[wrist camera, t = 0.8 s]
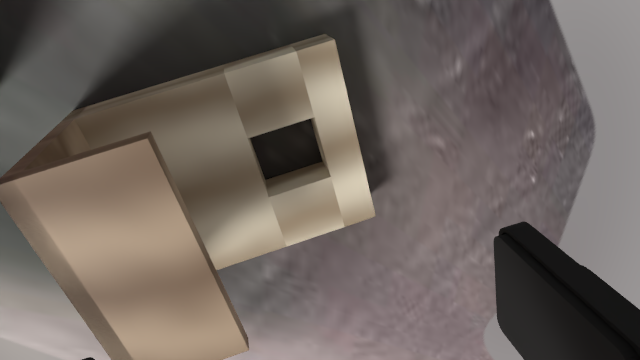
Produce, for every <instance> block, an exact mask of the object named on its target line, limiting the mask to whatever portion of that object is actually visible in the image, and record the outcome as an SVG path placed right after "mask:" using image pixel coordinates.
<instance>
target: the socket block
mask: <svg viewBox="0 0 640 360" xmlns="http://www.w3.org/2000/svg"><path fill="white" fill-rule="evenodd" d="M307 119H311V122H312V126H313V129H314V133H315V136H316V140H317V143H318V147H319V151H320V154H321V158H322V162H319V163H316V164H313V165H310V166H307V167H304V168H301V169H298V170H295V171H291V172H288V173H285V174H282V175H279V176H276V177H273V178H270V179H267V180H265V178H264V175H263V173H262V170H261V167H260V164H259V161H258V159H257V156H256V153H255V150H254V147H253V145H252V142H251V139H250V138H251V137H254V136H257V135H260V134H263V133H266V132H270V131H273V130H276V129H279V128H282V127H285V126H289V125H292V124H295V123H298V122H301V121H304V120H307ZM0 202H1V204H2V205H3V206H4V208H5V209H6V211H7V212H8V213H9V215H10V216H11V218H12V219H13V221H14V222H15V223H16V225H17V226H18V228H19V229H20V230H21V232H22V233H23V235H24V236H25V238H26V239H27V240H28V242H29V243H30V245H31V246H32V248H33V249H34V250H35V252H36V253H37V255H38V256H39V257H40V259H41V260H42V262H43V263H44V265H45V266H46V267H47V269H48V270H49V272H50V273H51V274H52V276H53V277H54V279H55V280H56V282H57V283H58V284H59V286H60V287H61V289H62V290H63V291H64V293H65V294H66V296H67V297H68V299H69V300H70V301H71V303H72V304H73V306H74V307H75V309H76V310H77V311H78V313H79V314H80V316H81V317H82V318H83V320H84V321H85V323H86V324H87V326H88V327H89V328H90V330H91V331H92V333H93V334H94V335H95V337H96V338H97V340H98V341H99V343H100V344H101V345H102V347H103V348H104V350H105V351H106V353H107V354H108V355H109V357H110V358H111V360H223V359H225V358H228V357H231V356H234V355H237V354H240V353H242V352H245V351H248V350H249V344H248V337H247V335H246V332H245V330H244V328H243V326H242V324H241V322H240V320H239V318H238V315H237V313H236V311H235V309H234V307H233V305H232V303H231V301H230V298H229V296H228V294H227V292H226V290H225V288H224V286H223V284H222V281H221V279H220V277H219V275H218V273H217V271H216V270H218V269H221V268H224V267H227V266H230V265H233V264H236V263H239V262H242V261H245V260H248V259H251V258H254V257H257V256H260V255H263V254H266V253H269V252H272V251H275V250H278V249H281V248H283V247H286V246H289V245H292V244H295V243H298V242H301V241H304V240H307V239H310V238H313V237H316V236H319V235H322V234H325V233H328V232H331V231H334V230H337V229H340V228H343V227H346V226H349V225H352V224H355V223H358V222H360V221H363V220H366V219H369V218H372V217H375V211H374V207H373V203H372V198H371V194H370V190H369V186H368V181H367V177H366V173H365V168H364V164H363V160H362V155H361V151H360V147H359V142H358V138H357V134H356V129H355V125H354V121H353V116H352V112H351V108H350V104H349V99H348V95H347V91H346V86H345V82H344V78H343V73H342V69H341V65H340V60H339V56H338V52H337V47H336V43H335V39H333V38H331V37H330V36H328V35H326V34H322V35H319V36H316V37H313V38H309V39H306V40H303V41H299V42H296V43H293V44H290V45H286V46H283V47H280V48H276V49H273V50H270V51H267V52H263V53H260V54H257V55H254V56H250V57H247V58H244V59H240V60H237V61H234V62H231V63H227V64H224V65H221V66H217V67H214V68H211V69H208V70H204V71H201V72H198V73H194V74H191V75H188V76H185V77H181V78H178V79H175V80H172V81H168V82H165V83H162V84H158V85H155V86H152V87H149V88H145V89H142V90H139V91H135V92H132V93H129V94H126V95H122V96H119V97H116V98H113V99H109V100H106V101H103V102H99V103H96V104H93V105H90V106H86V107H83V108H80V109H76V110H73V111H72V112H71V113H70V114H69V115H68V116H67V117H66V118H65V119H63V120H62V121H61V122H60V123H59V124H58V125H57V126H56V127H55V128H54V129H53V130H52V131H51V132H50V133H48V134H47V135H46V136H45V137H44V138H43V139H42V140H41V141H40V142H39V143H38V144H37V145H36V146H34V147H33V148H32V149H31V150H30V151H29V152H28V153H27V154H26V155H25V156H24V157H23V158H22V159H20V160H19V161H18V162H17V163H16V164H15V165H14V166H13V167H12V168H11V169H10V170H9V171H8V172H6V173H5V174H4V175H3V176H2V177H1V178H0Z"/></svg>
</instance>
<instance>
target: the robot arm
mask: <svg viewBox="0 0 640 360" xmlns="http://www.w3.org/2000/svg"><path fill="white" fill-rule="evenodd" d="M494 259H495V281H496V304H497V319H498V323H499V326H500V328H501V330H502V332H503V333H504V334H505V336H506V337H507V338H508V339H509V341H510V342H511V343H512V345H513V346H514V347H515V348H516V350H517V351H518V352H519V354H520V355H521V356H522V357H523V359H524V360H640V310H639V309H638V308H637V307H636V306H634V305H633V304H632V303H631V302H629V301H628V300H627V299H626V298H624V297H623V296H622V295H621V294H619V293H618V292H617V291H616V290H614V289H613V288H612V287H611V286H609V285H608V284H607V283H606V282H604V281H603V280H602V279H600V278H599V277H598V276H597V275H596V274H594V273H593V272H592V271H591V270H589V269H587V268H586V267H584V266H582V265H579V264H578V263H577V262H575V261H574V260H573V259H572V258H571V257H569V256H568V255H567V254H566V253H565V252H563V251H562V250H561V249H560V248H558V247H557V246H556V245H555V244H553V243H552V242H551V241H550V240H548V239H547V238H546V237H545V236H543V235H542V234H541V233H540V232H539V231H537V230H536V229H535V228H534V227H532V226H531V225H530V224H528V223H527V222H520V223H517V224H514V225H511V226H508V227H504V228H502V229H500V231H499V236H496V237H495V238H494ZM82 360H95V359H93V358H91V357H90V358H86V359H82Z"/></svg>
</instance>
